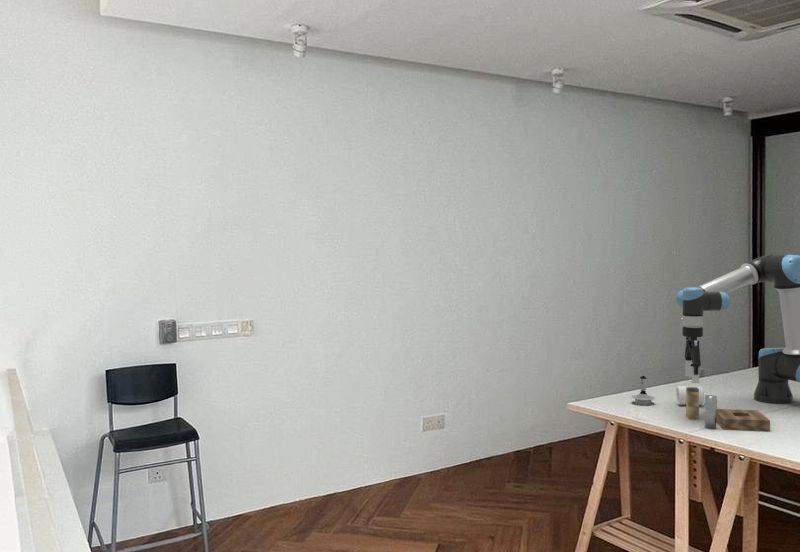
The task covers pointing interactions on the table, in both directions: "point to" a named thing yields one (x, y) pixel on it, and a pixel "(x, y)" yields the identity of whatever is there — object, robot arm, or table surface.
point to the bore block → (742, 420)
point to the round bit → (710, 411)
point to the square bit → (692, 402)
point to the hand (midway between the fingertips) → (692, 379)
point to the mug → (682, 395)
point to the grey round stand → (643, 396)
